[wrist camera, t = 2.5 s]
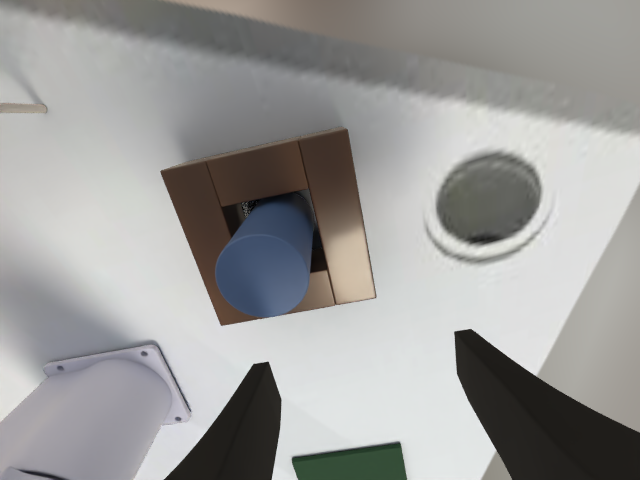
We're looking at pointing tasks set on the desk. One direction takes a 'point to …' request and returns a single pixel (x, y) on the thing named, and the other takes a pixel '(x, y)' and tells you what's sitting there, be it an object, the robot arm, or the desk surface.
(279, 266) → the peg
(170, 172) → the holder
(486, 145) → the desk surface
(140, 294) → the desk surface
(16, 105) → the lollipop
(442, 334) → the desk surface
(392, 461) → the mat
